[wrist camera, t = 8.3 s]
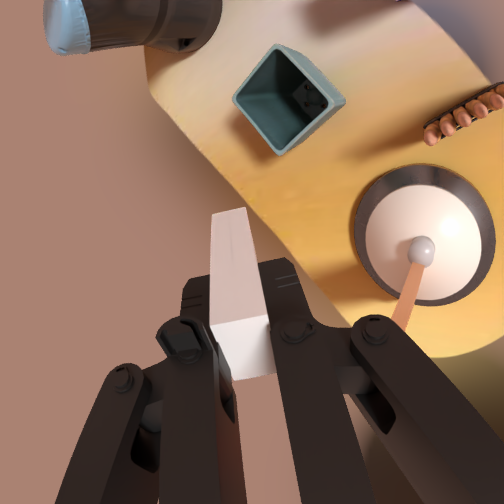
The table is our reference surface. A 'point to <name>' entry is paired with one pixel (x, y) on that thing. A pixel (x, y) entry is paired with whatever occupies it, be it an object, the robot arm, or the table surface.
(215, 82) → the table surface
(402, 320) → the dial
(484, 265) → the base
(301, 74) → the flower pot
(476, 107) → the ammunition clip
